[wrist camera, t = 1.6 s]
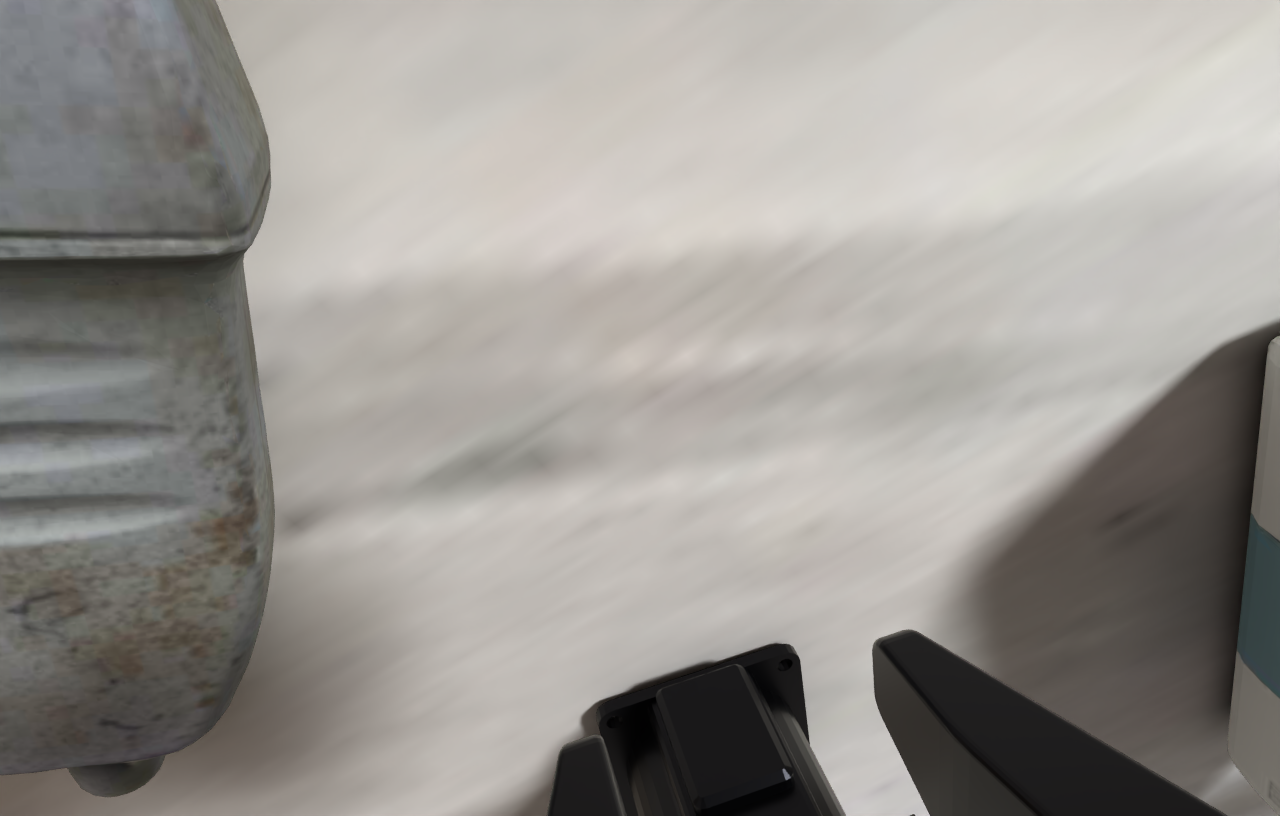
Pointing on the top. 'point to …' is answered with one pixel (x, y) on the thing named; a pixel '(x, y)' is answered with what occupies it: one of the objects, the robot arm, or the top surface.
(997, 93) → the top surface
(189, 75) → the handheld device
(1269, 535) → the stereo radio cassette player
